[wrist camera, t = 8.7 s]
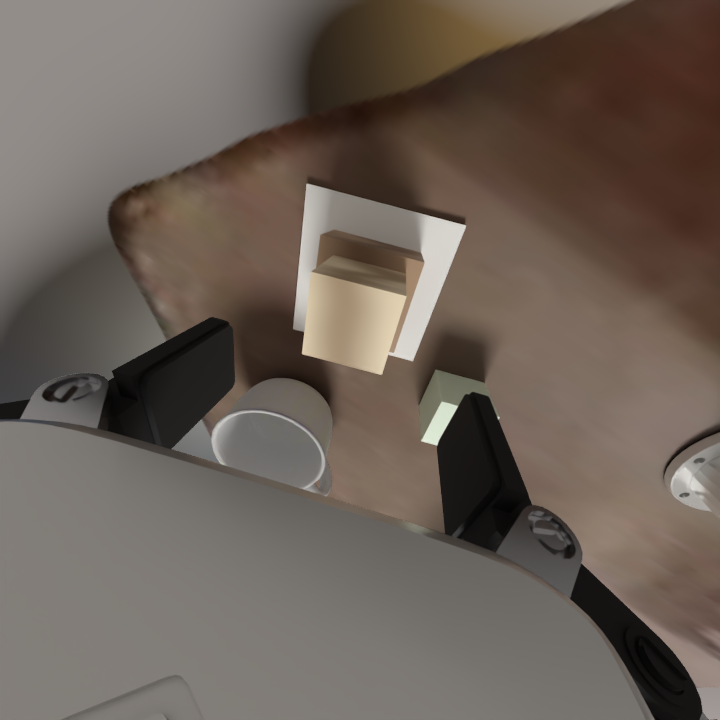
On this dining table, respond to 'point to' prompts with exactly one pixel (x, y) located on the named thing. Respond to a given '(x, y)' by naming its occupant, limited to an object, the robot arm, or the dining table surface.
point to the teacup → (278, 434)
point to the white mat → (387, 227)
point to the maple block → (353, 313)
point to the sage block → (444, 402)
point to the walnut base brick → (375, 261)
